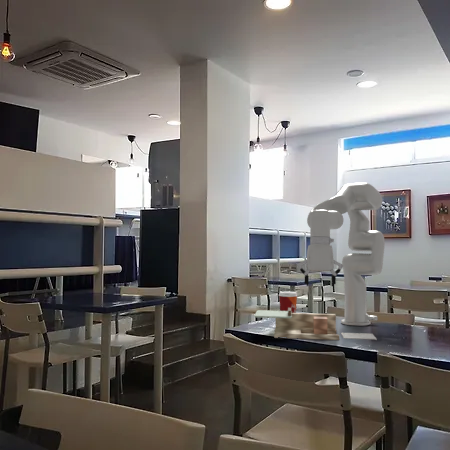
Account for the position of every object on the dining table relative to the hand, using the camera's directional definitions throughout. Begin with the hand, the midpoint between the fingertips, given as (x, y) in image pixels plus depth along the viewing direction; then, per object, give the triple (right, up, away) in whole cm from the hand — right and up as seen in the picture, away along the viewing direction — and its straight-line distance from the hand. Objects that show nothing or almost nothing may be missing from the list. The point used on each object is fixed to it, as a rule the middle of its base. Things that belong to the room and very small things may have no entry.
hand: (320, 285), depth 182 cm
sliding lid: (-18, -12, +4) cm, 22 cm away
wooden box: (-5, -20, +2) cm, 21 cm away
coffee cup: (-10, -21, +20) cm, 30 cm away
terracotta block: (0, -19, -1) cm, 19 cm away
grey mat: (+15, -20, -1) cm, 25 cm away
